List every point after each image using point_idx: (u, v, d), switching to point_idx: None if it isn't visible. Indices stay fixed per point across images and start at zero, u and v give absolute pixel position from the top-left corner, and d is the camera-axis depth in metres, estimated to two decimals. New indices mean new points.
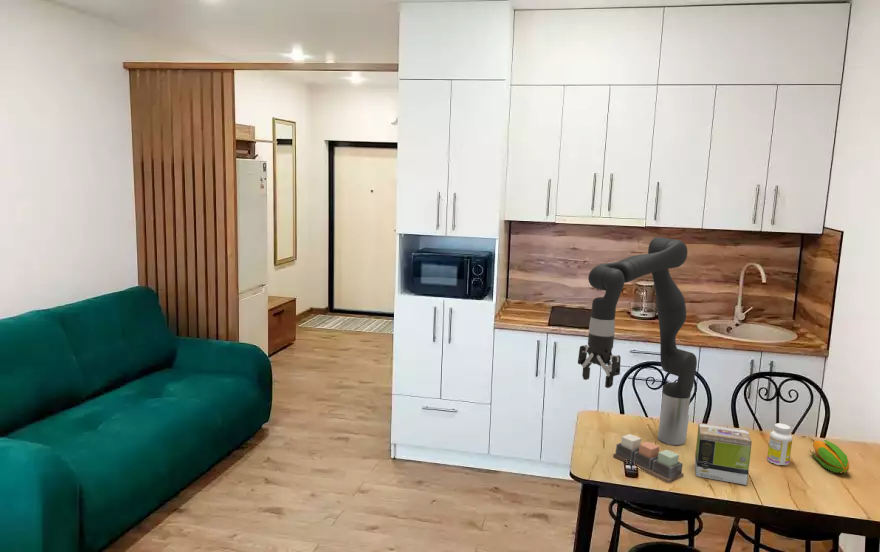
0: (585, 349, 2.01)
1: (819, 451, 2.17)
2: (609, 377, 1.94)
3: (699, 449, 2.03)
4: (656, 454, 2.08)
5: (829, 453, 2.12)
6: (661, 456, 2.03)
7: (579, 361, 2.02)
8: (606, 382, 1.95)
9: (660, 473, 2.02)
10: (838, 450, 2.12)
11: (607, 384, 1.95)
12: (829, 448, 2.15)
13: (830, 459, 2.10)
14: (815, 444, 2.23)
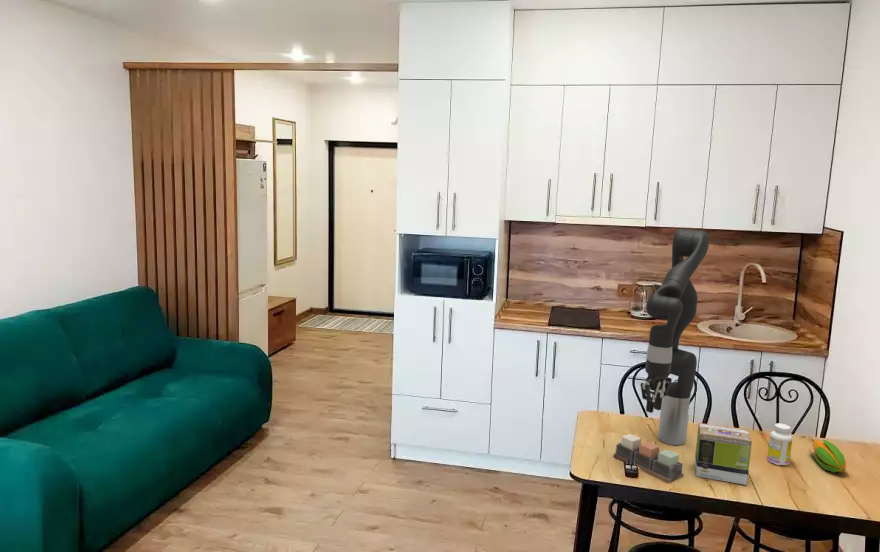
0: (648, 384, 2.02)
1: (817, 450, 2.17)
2: (661, 399, 2.07)
3: (699, 449, 2.03)
4: (656, 454, 2.08)
5: (826, 452, 2.12)
6: (661, 456, 2.03)
7: (650, 398, 2.02)
8: (660, 405, 2.07)
9: (660, 473, 2.02)
10: (835, 450, 2.12)
11: None
12: (826, 448, 2.16)
13: (826, 458, 2.11)
14: (814, 444, 2.23)
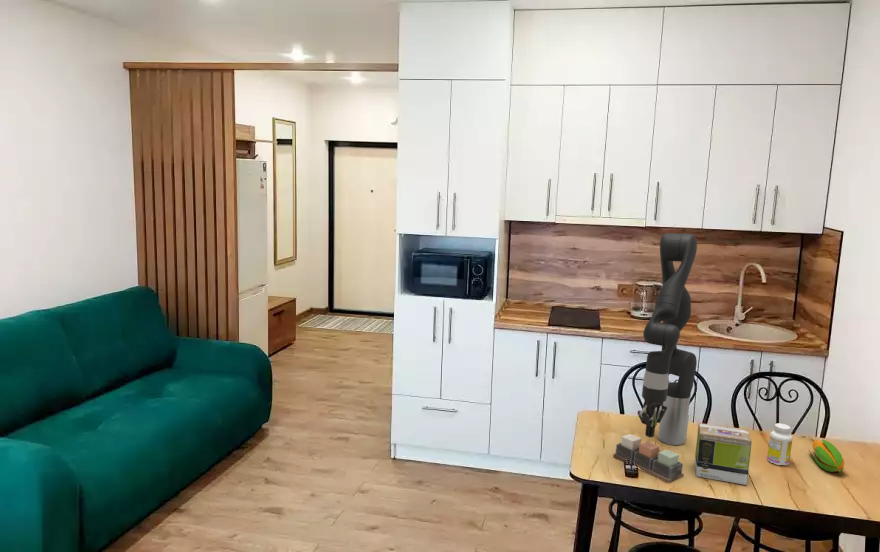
0: (645, 411, 2.03)
1: (815, 450, 2.17)
2: (654, 426, 2.07)
3: (699, 449, 2.03)
4: (656, 454, 2.08)
5: (824, 452, 2.12)
6: (661, 456, 2.03)
7: (649, 423, 2.05)
8: (653, 432, 2.07)
9: (660, 473, 2.02)
10: (834, 449, 2.12)
11: None
12: (825, 448, 2.16)
13: (824, 458, 2.11)
14: (814, 443, 2.24)
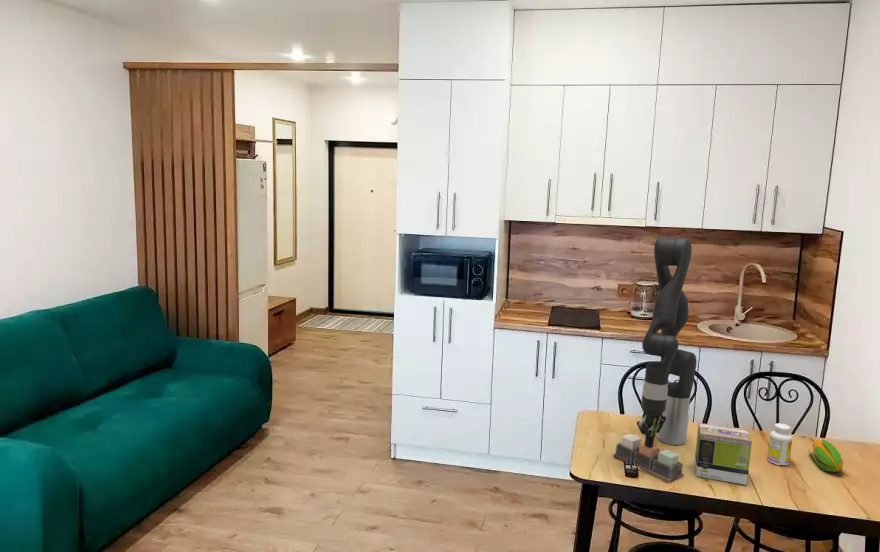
0: (644, 422, 2.04)
1: (815, 450, 2.17)
2: (653, 436, 2.08)
3: (699, 449, 2.03)
4: (656, 455, 2.08)
5: (823, 452, 2.13)
6: (661, 456, 2.03)
7: (649, 433, 2.05)
8: (653, 442, 2.08)
9: (660, 473, 2.02)
10: (833, 449, 2.12)
11: None
12: (824, 448, 2.16)
13: (823, 458, 2.11)
14: (814, 443, 2.24)
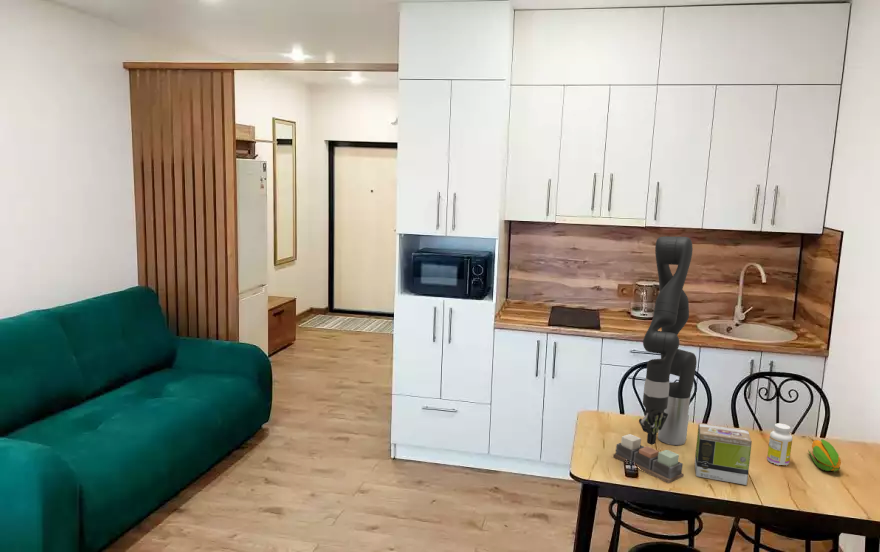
0: (646, 419, 2.04)
1: (813, 449, 2.18)
2: (655, 433, 2.08)
3: (699, 449, 2.03)
4: None
5: (821, 451, 2.13)
6: (661, 456, 2.03)
7: (651, 431, 2.05)
8: (655, 439, 2.08)
9: (660, 473, 2.02)
10: (831, 449, 2.13)
11: None
12: (823, 447, 2.16)
13: (821, 457, 2.12)
14: (813, 443, 2.24)
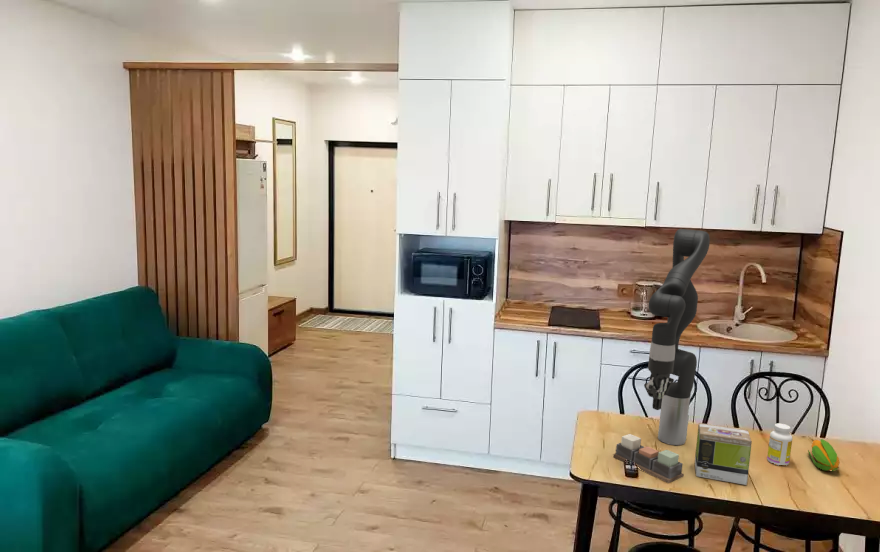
0: (652, 384, 2.01)
1: (812, 449, 2.18)
2: (661, 398, 2.06)
3: (699, 449, 2.03)
4: None
5: (819, 451, 2.13)
6: (661, 456, 2.03)
7: (656, 395, 2.03)
8: (660, 404, 2.05)
9: (660, 473, 2.02)
10: (829, 449, 2.13)
11: None
12: (822, 447, 2.16)
13: (819, 456, 2.12)
14: (813, 443, 2.24)
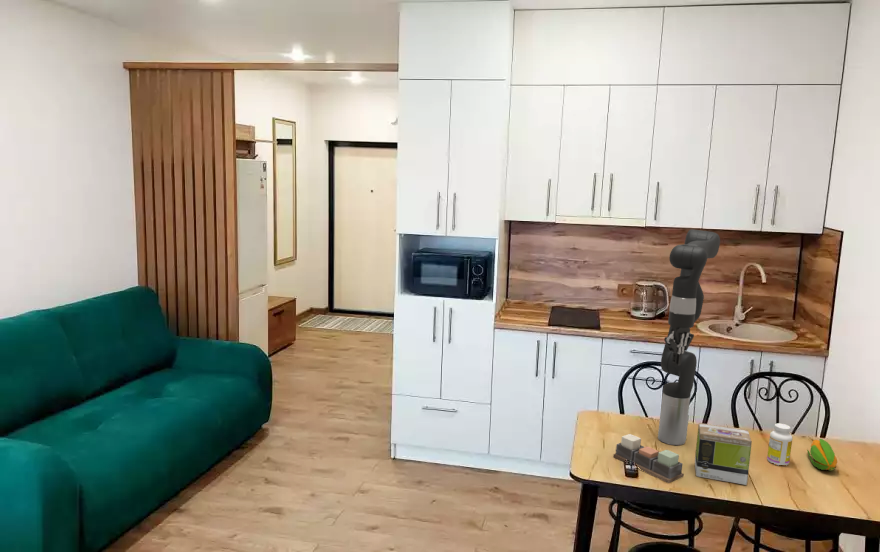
0: (672, 337, 1.98)
1: (811, 448, 2.18)
2: (681, 354, 2.02)
3: (699, 449, 2.03)
4: None
5: (817, 450, 2.13)
6: (661, 456, 2.03)
7: (676, 350, 1.99)
8: (680, 360, 2.02)
9: (660, 473, 2.02)
10: (827, 448, 2.13)
11: None
12: (820, 447, 2.17)
13: (816, 456, 2.12)
14: (812, 443, 2.24)
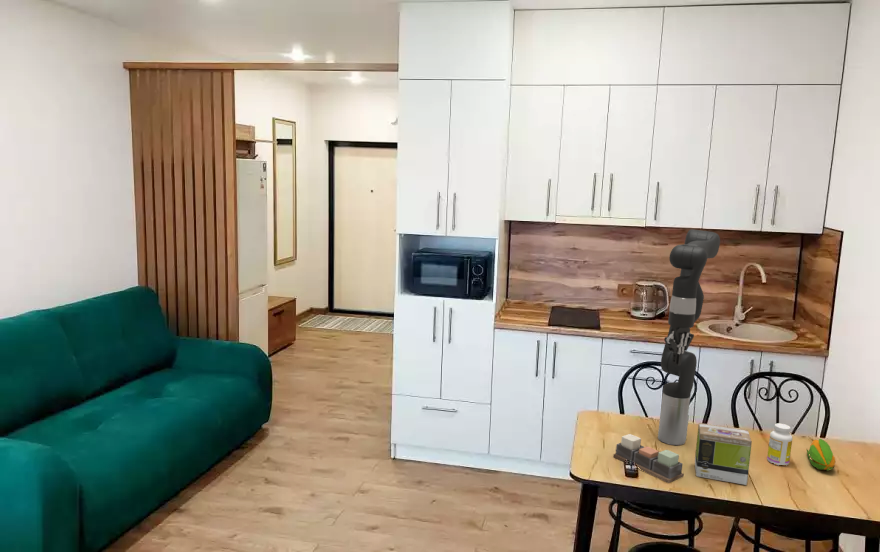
0: (672, 337, 1.98)
1: None
2: (681, 354, 2.02)
3: (699, 449, 2.03)
4: None
5: (815, 450, 2.14)
6: (661, 456, 2.03)
7: (676, 350, 1.99)
8: (680, 360, 2.02)
9: (660, 473, 2.02)
10: (825, 448, 2.13)
11: None
12: (819, 446, 2.17)
13: (814, 455, 2.13)
14: (812, 443, 2.24)
